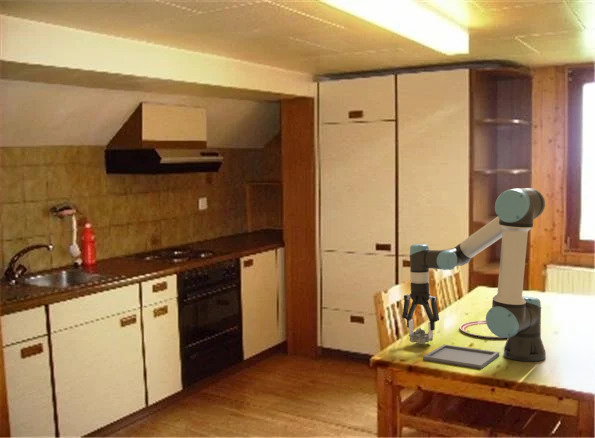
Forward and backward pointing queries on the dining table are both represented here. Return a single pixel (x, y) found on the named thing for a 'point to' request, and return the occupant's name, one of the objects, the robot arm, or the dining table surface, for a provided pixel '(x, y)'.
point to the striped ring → (467, 324)
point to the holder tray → (461, 356)
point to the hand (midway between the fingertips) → (420, 336)
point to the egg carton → (419, 336)
